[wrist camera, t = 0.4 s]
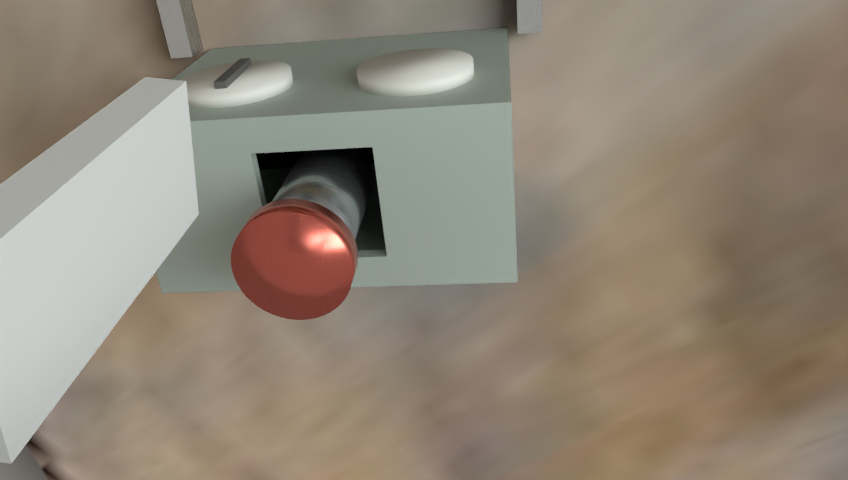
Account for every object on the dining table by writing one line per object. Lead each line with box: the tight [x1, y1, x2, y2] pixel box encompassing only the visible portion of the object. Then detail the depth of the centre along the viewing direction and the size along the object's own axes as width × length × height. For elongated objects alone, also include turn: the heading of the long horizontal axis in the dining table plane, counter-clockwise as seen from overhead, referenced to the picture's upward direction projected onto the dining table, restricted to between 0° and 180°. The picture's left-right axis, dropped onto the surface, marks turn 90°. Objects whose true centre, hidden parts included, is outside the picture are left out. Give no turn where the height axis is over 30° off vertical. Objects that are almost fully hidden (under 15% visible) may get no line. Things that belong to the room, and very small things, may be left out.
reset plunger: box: [231, 148, 374, 320], centre depth 30 cm, size 4×4×8 cm
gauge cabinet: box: [156, 28, 518, 293], centre depth 36 cm, size 9×16×12 cm, turn 95°
